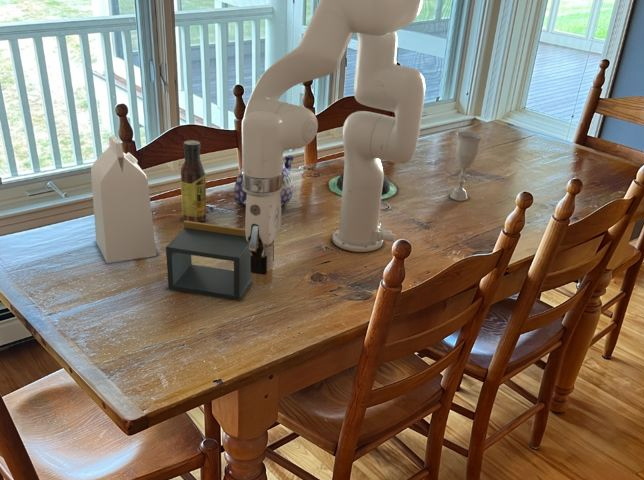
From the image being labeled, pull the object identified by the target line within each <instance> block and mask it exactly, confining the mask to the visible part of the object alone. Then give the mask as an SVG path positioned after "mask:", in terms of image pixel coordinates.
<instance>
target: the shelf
mask: <svg viewBox="0 0 644 480" xmlns="http://www.w3.org/2000/svg"><path fill="white" fill-rule="evenodd" d="M249 246H250V242H247V240H246V232H245V228H240V227H234V226H228V225H220V224H212V223H205V222H192V221H185V220H183V228H182V229H181V230H180V231H179V232H178V233H177V234H176V235H175V236H174V237H173V238H172V240H171V241H170V242H169V243H168V244H167V245H166V246H165V255H166V271H167V285H168V290H171V291H177V292H184V293H190V294H195V295H196V294H197V295H203V296H209V297H216V298H221V299H222V298H223V299H228V300H235V301H240V300H241V299H242V297H243V295H245V292H246V291H247V290H248V288H249V286H250V285H251V283H253V282H252V280H251V277H252V273H251V256H250V251H249ZM192 256H195V257H203V258H209V259H214V260H215V259H216V260H223V261H228V262H233V270H232V269H225V268H218V267H211V266H205V265H197V264H193V263H192Z"/></svg>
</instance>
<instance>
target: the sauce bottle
mask: <svg viewBox="0 0 644 480" xmlns="http://www.w3.org/2000/svg"><path fill="white" fill-rule="evenodd" d="M183 150H184V162H183V164H182V165H181V167H180V198H181V199H180V200H181V214H182V219H183V221H192V222H199V223H202V222H204V221H205V220H206V217H207V185H206V183H207V182H206V181H207V180H206V172H205V169H204V166H203V164H202V162H201V142H200V141H198V140H185V141H184V142H183Z"/></svg>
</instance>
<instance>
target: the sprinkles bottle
mask: <svg viewBox="0 0 644 480" xmlns="http://www.w3.org/2000/svg"><path fill="white" fill-rule="evenodd" d="M258 240H260V241H262V240H261V239H260V238H259V239H258ZM273 245H274V243H273V242H272V243H271V244H270V245H266V251H265V256H267V273H266V274H265V275H263V274H256V273H252V277H251V280H252V282H251V283H253V284H254V285H257V286H268V285H270V284H271V283H273V281H274V276H273V270H274V269H273V267H274V261H273ZM258 248H261V250H262V245H258Z"/></svg>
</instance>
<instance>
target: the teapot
mask: <svg viewBox="0 0 644 480" xmlns="http://www.w3.org/2000/svg"><path fill="white" fill-rule="evenodd" d="M294 159H295V156H294V155H289V154H288V155H285V157H284V158H283V167H282V190H281V192H280V194H281V211H282V210H283V208H284V207H286V206H287V205H288V204H290V202H291V200H292V198H293V194H294V179H293V175H292V173H291V172H292V171H291V170H292V164H293V160H294ZM233 189H234V190H233V197H234V201H235V202H236V204H237V205H239V206H240V207H246V197H247V193H246V192H245V191H244V190H243V179H242V168H241V169H240V170H239V171H238V174H237V178H236V180H235V184H234V188H233Z"/></svg>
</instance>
